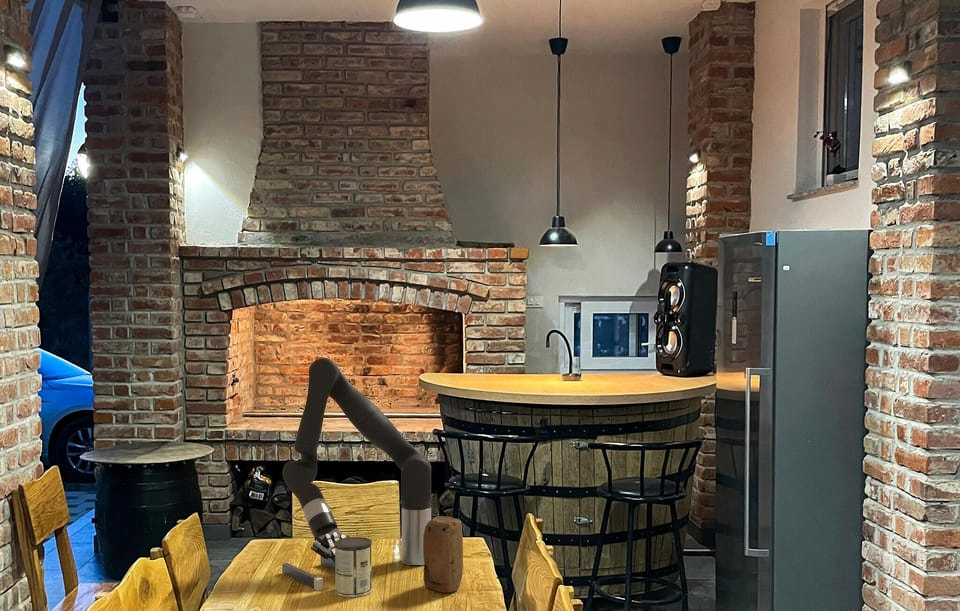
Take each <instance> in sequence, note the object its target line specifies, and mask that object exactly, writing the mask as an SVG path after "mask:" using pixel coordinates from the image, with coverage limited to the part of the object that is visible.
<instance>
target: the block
mask: <svg viewBox="0 0 960 611" xmlns="http://www.w3.org/2000/svg"><path fill="white" fill-rule="evenodd" d="M423 540H424V541H423V554H424V565H423V584H424V587H426V588H428V589H430V590H432V591H436V592H439V593H445V594H446V593H454V592H456V591H458V590H459V589H460V586H461V582H462V578H463V574H464V573H463V571H464V570H463V569H464V568H463V567H464V549H463V548H464V546H463V545H464V540H463V526H462V521H461V520H460V519H459V518H454V517H452V516H448V515H447V516H444V515H439V516H435V517H433V518H431V520H430V521H429V522H428V523H427V525H426V527H425V530H424V535H423Z"/></svg>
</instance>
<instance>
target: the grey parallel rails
mask: <svg viewBox="0 0 960 611" xmlns="http://www.w3.org/2000/svg"><path fill="white" fill-rule="evenodd" d="M281 566H282V567H281V568H282V569H281V571H282V572H281V573H283V574H284V575H283V574H282V575H283V576H286V575H287V576H286V577H288V576H289V577H288V578H290V577H291V579H292V578H293V579H292V580H294V579H295V581H296V580H297V581H296V582H298V581H299V582H298V583H300V582H301V584H302V585H305V586H307V587H308V588H311V589H313V590H315V591H316V592H317V591H318V592H319V591H322V590H324V578H322V577H321V576H317V575H315V574H313V573H311V572H308V571H306V570H304V569H301V568H300V567H297V566H295V565H293V564H290V563H289V562H285V563H282V565H281ZM320 566H321V567H324V566H325V567H324V568H326V567H327V568H326V569H328V568H330V569H329V570H331V569H332V570H331V571H333V570H334V571H333V572H335V564H334V562H333V560H332V559H329V558H328V559H325V558H323V557H322V556H320Z"/></svg>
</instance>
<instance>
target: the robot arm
mask: <svg viewBox="0 0 960 611" xmlns="http://www.w3.org/2000/svg"><path fill="white" fill-rule="evenodd" d="M307 388H308V389H307V396H306V401H305V405H304V409H303V412H302V415H301V418H300V422H299V425H298V430H297V434H296V437H295V441H294V447H293V448H294V451H295V452H297V454H300V458H301V459H300V460H301V461H300V460H299V461H298V460H290V461H288V462H286V463H285V464H284V466H283V468H282V479H283V481H284V483H285V485H286V486H287V487H288V489H289V490H290V491H291V492H292V494H293V495H294V496H295V497H296V499H297V500H298V503H299V505H300V506H301V509H302V511H303V515H304V518H305V520H306V523H307V525H308V527H309V530H310V531H311V534H312V536H313V537H314V542H313V543H312V544H311V546H310V550H311V551H313V552H314V553H316V554H317V555H319V556H320V557H321V556H322V557H323V558H325V559H328V558H329V559H332V560H333V562H334V564H335V542H336V541H337V540H339V539H342V538H348V537H351V535H350V534H346V535H344V534H342V531H340V529H339V528H338V523H337V521H336V519H335V516H334V515H333V512H332V510H331V508H330V506H329V505H328V502H327V501H326V499H325V497H324V495H323V493H322V491H321V489H320V487H319V486H318V485H317V484H314V483H313V482H314V481H315V479H316V478H317V473H318V446H319V442H320V439H321V434H322V430H323V426H324V425H323V423H324V417H325V412H326V408H327V403H328V400H329V397H330V398H331V399H332V400H333V401H334V402H335V403H336V404H337V405H338V407H339V408H340V409H341V411H342V413H343V414H344V415H345V416H346V418H347V419H348V420H349V422H350V423H351V424H352V426H353V427H354V428H355V429H356V430H357V431H358V432H359V433H360V434H361V435H362V436H363V437H364V438H365V439H366V440H367V441H368V442H370V443H371V444H373V446H375V447H377V448H378V449H380V451H383V452H384V453H385V454H386V455H388V456H389V457H390V459H391V460H392V461H393V462H394V463H395V465H397V467H398V469H399V470H400V471H401V472H400V474H401V475H400V476H401V477H400V478H401V479H400V480H401V481H400V482H401V484H400V485H401V490H400V491H401V493H400V496H401V498H400V499H401V500H400V501H401V564H403V565H405V564H406V566H410V565H421V566H424V554H423V541H424V540H423V535H424V530H425V527H426V525H427V523H428V522H429V521H430V520H431V519H432V465H431V462H430V460H429V459H428V457H426V456H425V455H424V454H423V453H422V452H420V451H419V450H418V449H417V448H416V447H414V446H413V445H412V444H411V443H410V442H408V440H406V438H405V437H404V436H403V435H402V434H401V432H400V431H399V430H398V429H397V427H396V426H395V425H394V424H393V423H392V422H391V420H390V419H389V418H388V416H386V415H385V413H384V412H382V410H380V408H379V407H378V406H377V405H375V404H374V402H373V401H371V400H370V399H369V398H368V397H367V396H365V395H364V394H363V393H362V392H360V391H359V390H358V389H356V388H355V386H354V385H352V383H351V382H350V381H349V379H348V378H347V377H346V376H345V375H344V373H342V371H341V369H340V368H339V367H338V365H337V363H336V362H335V361H334V360H332V359H331V358H329V357H328V358H327V357H320V358H318V359H315V360H314V361H313V362H312V363H311V364H310V365H309V368H308V386H307Z"/></svg>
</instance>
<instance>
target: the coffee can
mask: <svg viewBox="0 0 960 611" xmlns="http://www.w3.org/2000/svg"><path fill="white" fill-rule="evenodd" d="M372 545H373V542H372V540H371V539H370V538H368V537H362V536H350V537H348V538H342V539H339V540H337V541H336V542H335V571H334V572H335V578H334V579H335V580H334V581H335V583H334V584H335V588H334V589H335V592H334V593H335V594H336V595H337V596H339V597H343V598H360V597H364V596H367V595H369V594H370V593H372V591H373V590H372Z"/></svg>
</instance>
